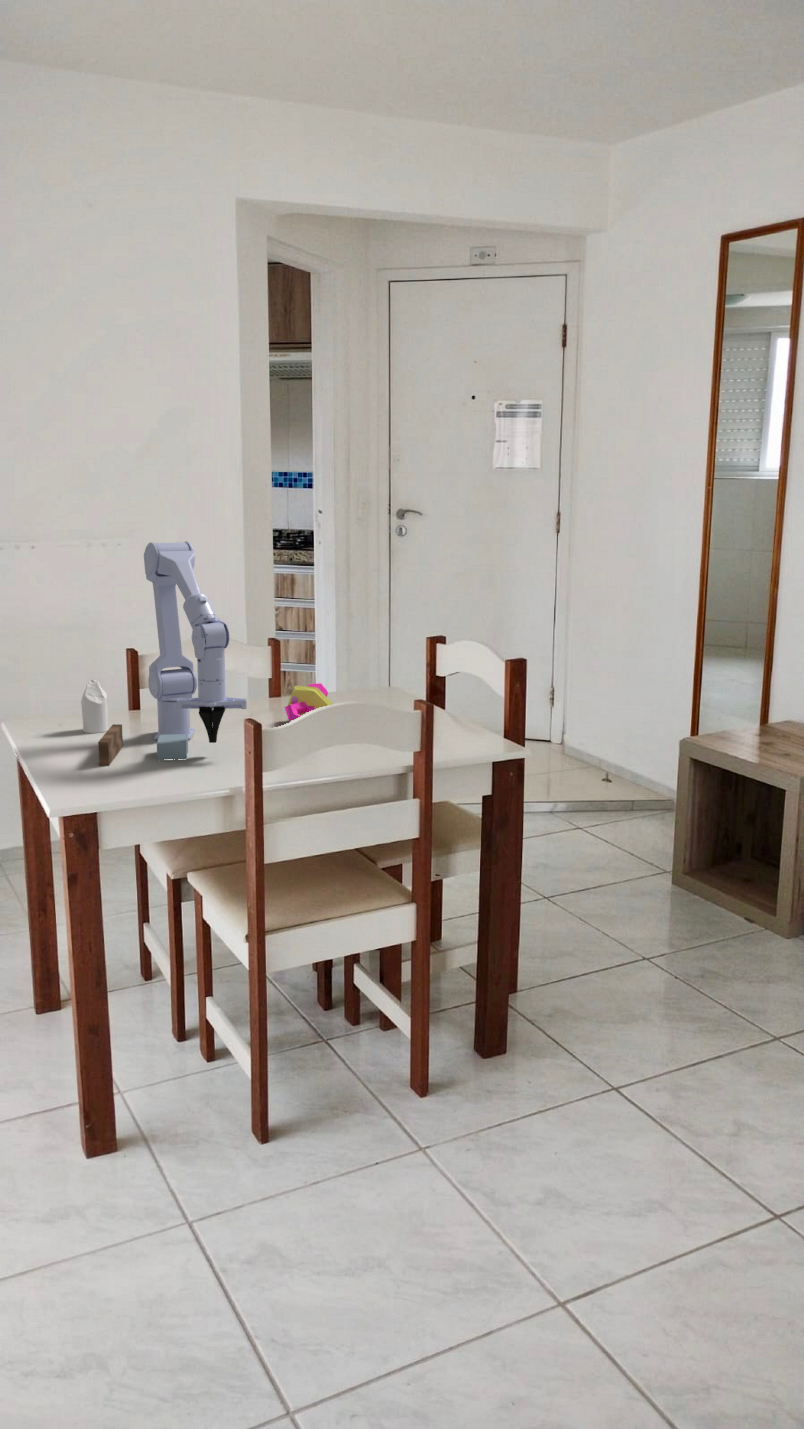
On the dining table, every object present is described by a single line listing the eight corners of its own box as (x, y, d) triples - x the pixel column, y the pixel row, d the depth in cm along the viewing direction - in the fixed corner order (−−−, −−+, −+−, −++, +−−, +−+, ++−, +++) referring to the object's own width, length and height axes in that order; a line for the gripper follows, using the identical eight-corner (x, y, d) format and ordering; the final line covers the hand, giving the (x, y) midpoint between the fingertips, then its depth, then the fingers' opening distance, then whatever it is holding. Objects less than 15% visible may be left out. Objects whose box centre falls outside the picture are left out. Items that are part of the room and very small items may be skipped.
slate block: (160, 752, 244) (159, 734, 243) (188, 752, 245) (187, 734, 244) (157, 762, 237) (156, 743, 236) (186, 761, 237) (185, 743, 236)
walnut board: (113, 746, 248) (112, 724, 247) (122, 746, 248) (121, 724, 247) (99, 765, 232) (98, 742, 231) (109, 765, 232) (108, 742, 231)
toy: (271, 731, 268) (284, 697, 263) (295, 695, 283) (308, 663, 278) (310, 748, 268) (323, 715, 262) (331, 712, 283) (345, 680, 278)
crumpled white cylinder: (89, 683, 256) (75, 680, 259) (91, 734, 258) (77, 730, 262) (111, 679, 260) (97, 676, 264) (113, 730, 263) (99, 726, 266)
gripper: (174, 682, 233) (176, 746, 236) (244, 682, 234) (245, 745, 237) (178, 676, 240) (180, 738, 243) (247, 676, 241) (248, 738, 244)
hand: (213, 741), depth 241 cm, fingers closed
